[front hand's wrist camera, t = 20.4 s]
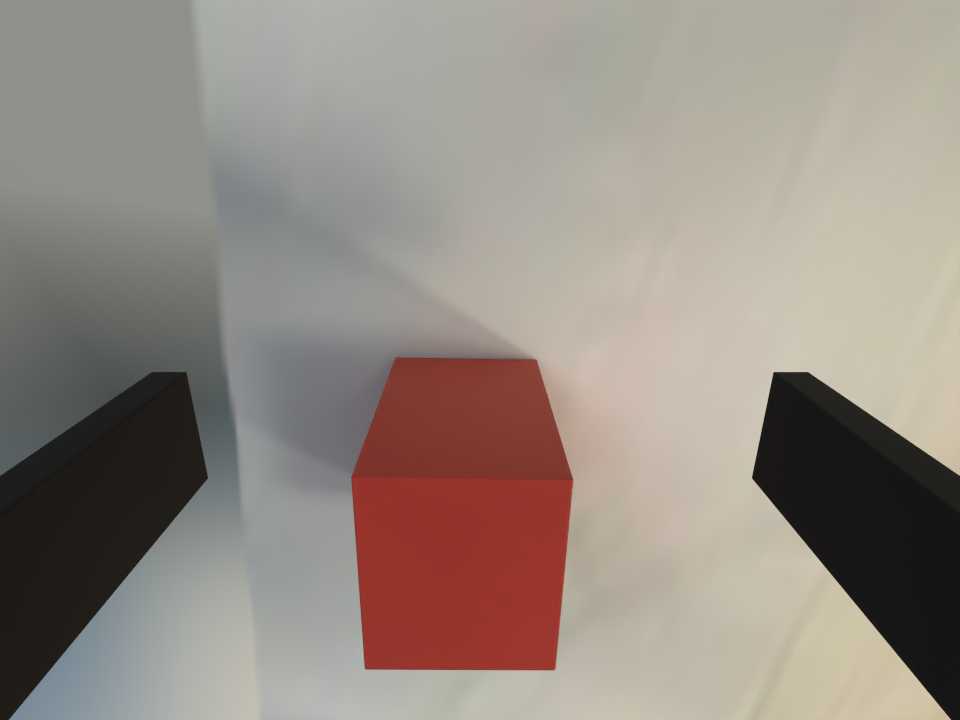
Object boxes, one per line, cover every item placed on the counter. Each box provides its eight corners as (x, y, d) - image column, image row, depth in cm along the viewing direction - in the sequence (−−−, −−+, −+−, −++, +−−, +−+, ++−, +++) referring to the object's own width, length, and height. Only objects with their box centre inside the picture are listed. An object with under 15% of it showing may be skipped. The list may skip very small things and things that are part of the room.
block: (536, 359, 29) (573, 479, 18) (527, 499, 32) (555, 671, 21) (395, 357, 29) (351, 476, 18) (400, 498, 32) (364, 670, 21)
